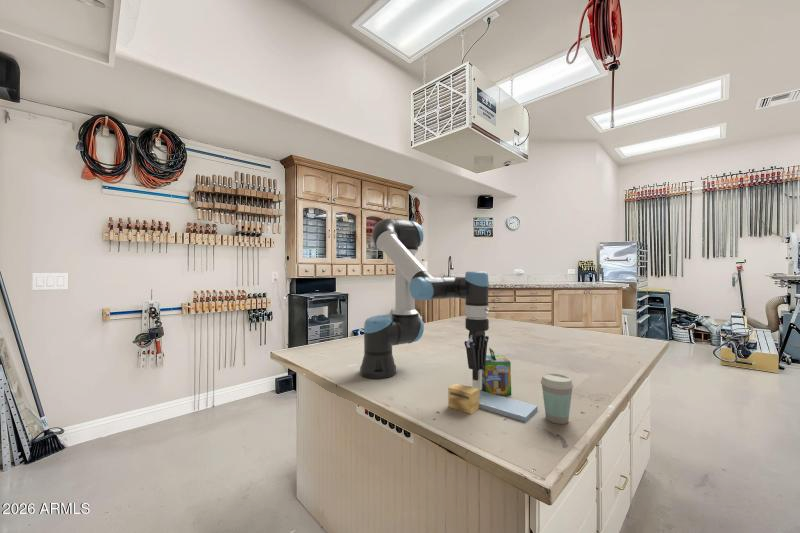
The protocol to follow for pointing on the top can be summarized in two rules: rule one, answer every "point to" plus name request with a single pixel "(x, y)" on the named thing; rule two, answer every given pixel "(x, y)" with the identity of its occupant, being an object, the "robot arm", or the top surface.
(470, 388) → the tan rectangular block
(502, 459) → the top surface
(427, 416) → the top surface
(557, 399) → the coffee cup
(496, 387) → the chalk box
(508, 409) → the board
